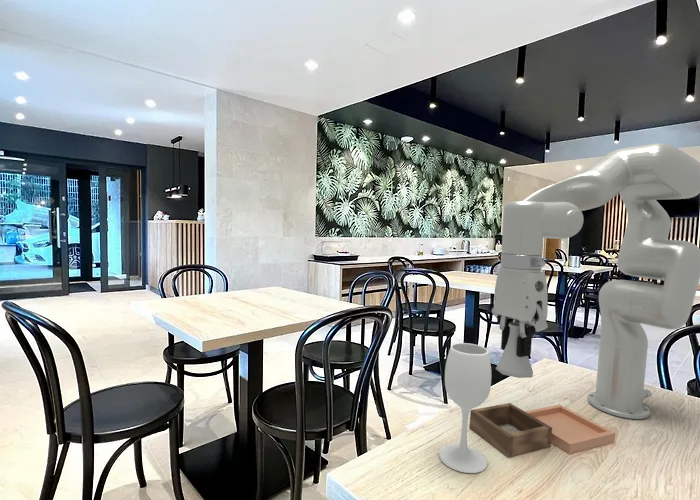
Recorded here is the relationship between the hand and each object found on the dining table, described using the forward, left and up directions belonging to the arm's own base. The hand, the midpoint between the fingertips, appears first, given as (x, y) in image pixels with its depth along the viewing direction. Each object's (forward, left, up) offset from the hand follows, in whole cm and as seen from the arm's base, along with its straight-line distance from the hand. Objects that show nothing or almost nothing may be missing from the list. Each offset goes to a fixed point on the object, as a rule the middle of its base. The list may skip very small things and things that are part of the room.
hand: (515, 351), depth 78 cm
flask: (0, 0, -5) cm, 5 cm away
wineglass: (+14, +3, -18) cm, 23 cm away
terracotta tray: (-13, +2, -18) cm, 22 cm away
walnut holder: (0, 0, -18) cm, 18 cm away
